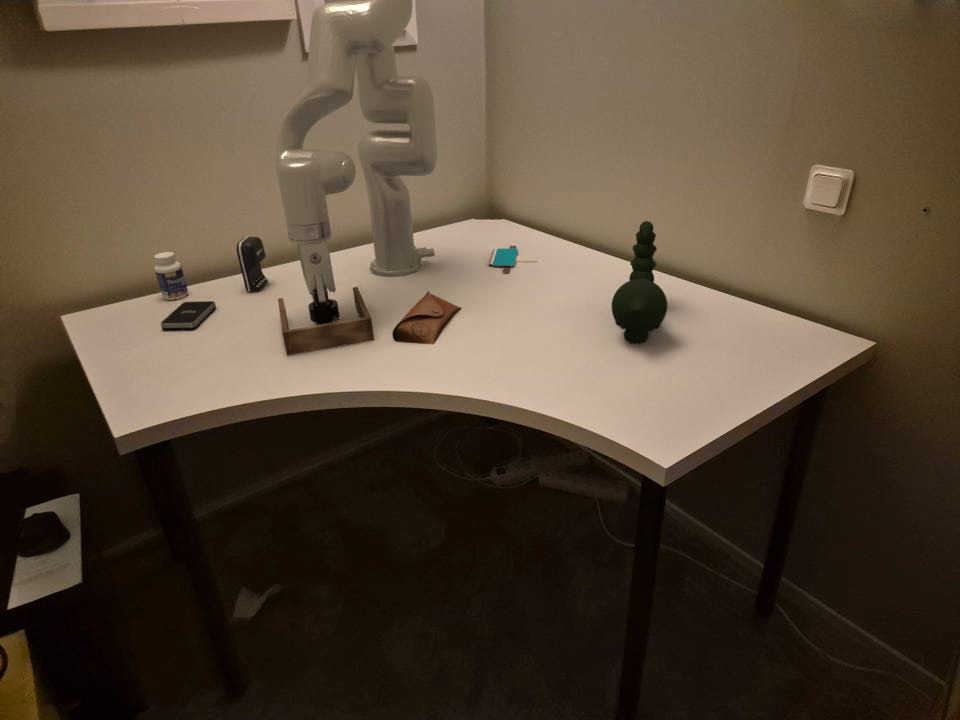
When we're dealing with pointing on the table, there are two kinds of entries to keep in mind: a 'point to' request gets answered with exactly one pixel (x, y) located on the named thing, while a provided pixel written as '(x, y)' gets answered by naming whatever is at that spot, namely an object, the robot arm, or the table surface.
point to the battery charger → (251, 262)
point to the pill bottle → (170, 276)
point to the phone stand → (508, 258)
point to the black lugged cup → (333, 308)
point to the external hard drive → (188, 316)
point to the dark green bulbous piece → (640, 292)
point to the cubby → (328, 330)
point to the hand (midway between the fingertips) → (324, 321)
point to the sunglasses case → (425, 320)
